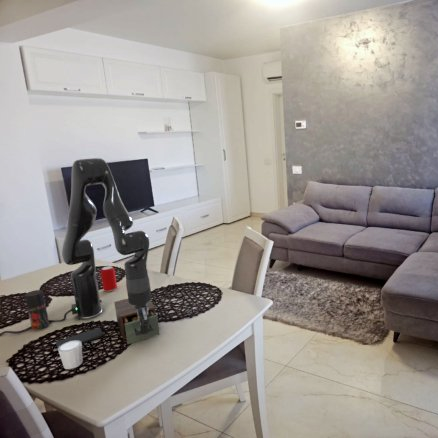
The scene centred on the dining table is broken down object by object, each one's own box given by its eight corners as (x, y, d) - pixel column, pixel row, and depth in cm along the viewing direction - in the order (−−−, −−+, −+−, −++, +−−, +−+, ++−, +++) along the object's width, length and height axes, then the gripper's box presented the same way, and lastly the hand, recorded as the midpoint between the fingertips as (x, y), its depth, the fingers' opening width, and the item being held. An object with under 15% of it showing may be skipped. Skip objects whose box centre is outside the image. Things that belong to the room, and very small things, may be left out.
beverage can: (119, 288, 184) (116, 266, 181) (108, 293, 179) (104, 270, 176) (112, 286, 187) (109, 264, 184) (101, 291, 182) (97, 268, 179)
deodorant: (52, 324, 150) (46, 290, 146) (38, 331, 144) (31, 296, 141) (42, 322, 152) (35, 289, 148) (28, 329, 146) (21, 295, 143)
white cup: (68, 358, 125) (64, 340, 124) (88, 357, 126) (85, 339, 124) (57, 371, 118) (53, 352, 117) (78, 369, 119) (75, 350, 117)
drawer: (162, 339, 134) (160, 320, 132) (129, 349, 128) (126, 329, 126) (151, 319, 149) (148, 302, 147) (121, 327, 143) (118, 310, 141)
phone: (55, 341, 135) (99, 327, 144) (55, 343, 135) (99, 329, 144) (58, 350, 129) (103, 334, 138) (59, 352, 129) (104, 336, 139)
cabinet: (157, 329, 143) (155, 307, 141) (123, 339, 136) (120, 316, 134) (149, 314, 155) (146, 293, 153) (117, 323, 149) (114, 301, 147)
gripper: (124, 284, 129) (130, 328, 132) (130, 297, 118) (137, 345, 121) (146, 279, 133) (151, 322, 136) (154, 291, 122) (160, 337, 125)
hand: (145, 333), depth 129 cm, fingers closed
